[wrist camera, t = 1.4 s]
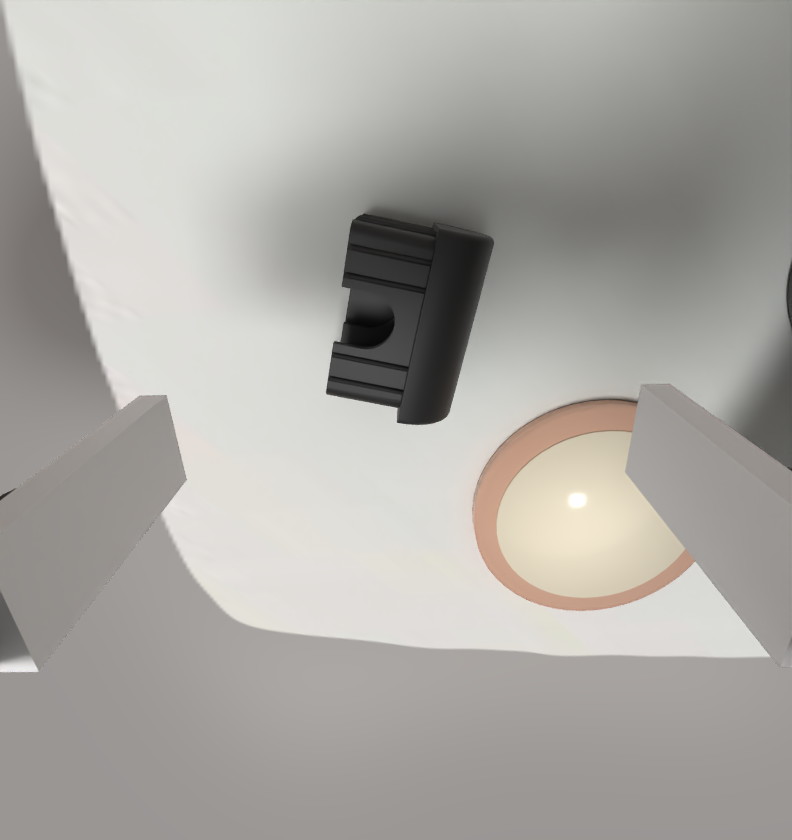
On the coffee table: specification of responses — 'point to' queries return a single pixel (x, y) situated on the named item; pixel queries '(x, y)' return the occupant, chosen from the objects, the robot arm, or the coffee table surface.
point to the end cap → (407, 315)
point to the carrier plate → (573, 513)
